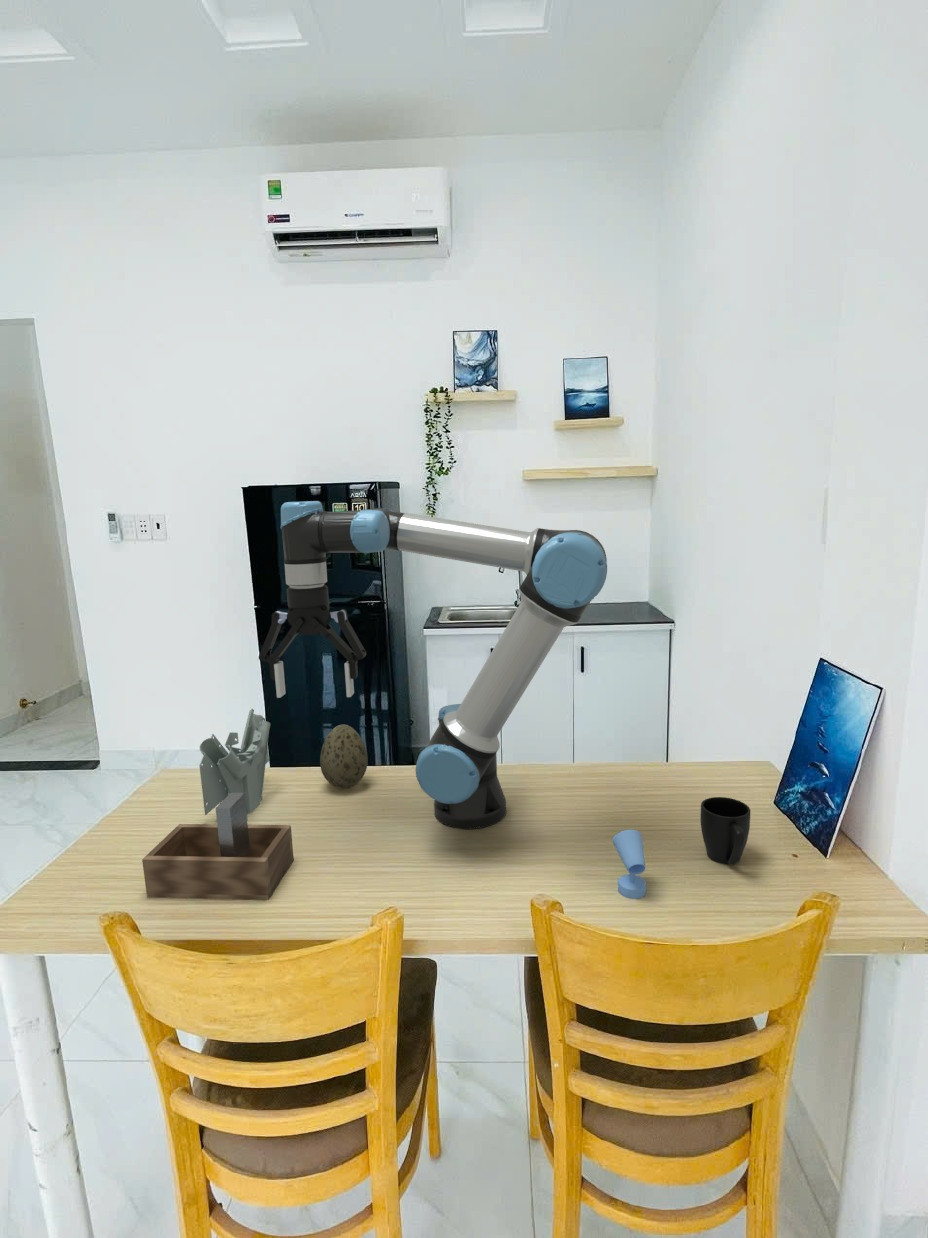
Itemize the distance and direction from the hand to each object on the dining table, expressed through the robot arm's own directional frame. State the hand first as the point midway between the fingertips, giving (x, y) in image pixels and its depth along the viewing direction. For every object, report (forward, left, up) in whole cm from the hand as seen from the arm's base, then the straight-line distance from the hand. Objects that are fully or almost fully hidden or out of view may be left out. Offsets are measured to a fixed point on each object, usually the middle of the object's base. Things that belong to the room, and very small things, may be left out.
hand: (315, 695), depth 127 cm
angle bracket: (+14, +16, -28) cm, 35 cm away
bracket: (+22, -11, -29) cm, 38 cm away
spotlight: (-57, +17, -29) cm, 66 cm away
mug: (-75, +8, -29) cm, 81 cm away
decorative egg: (+2, -22, -29) cm, 36 cm away
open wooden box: (+14, +16, -29) cm, 36 cm away
